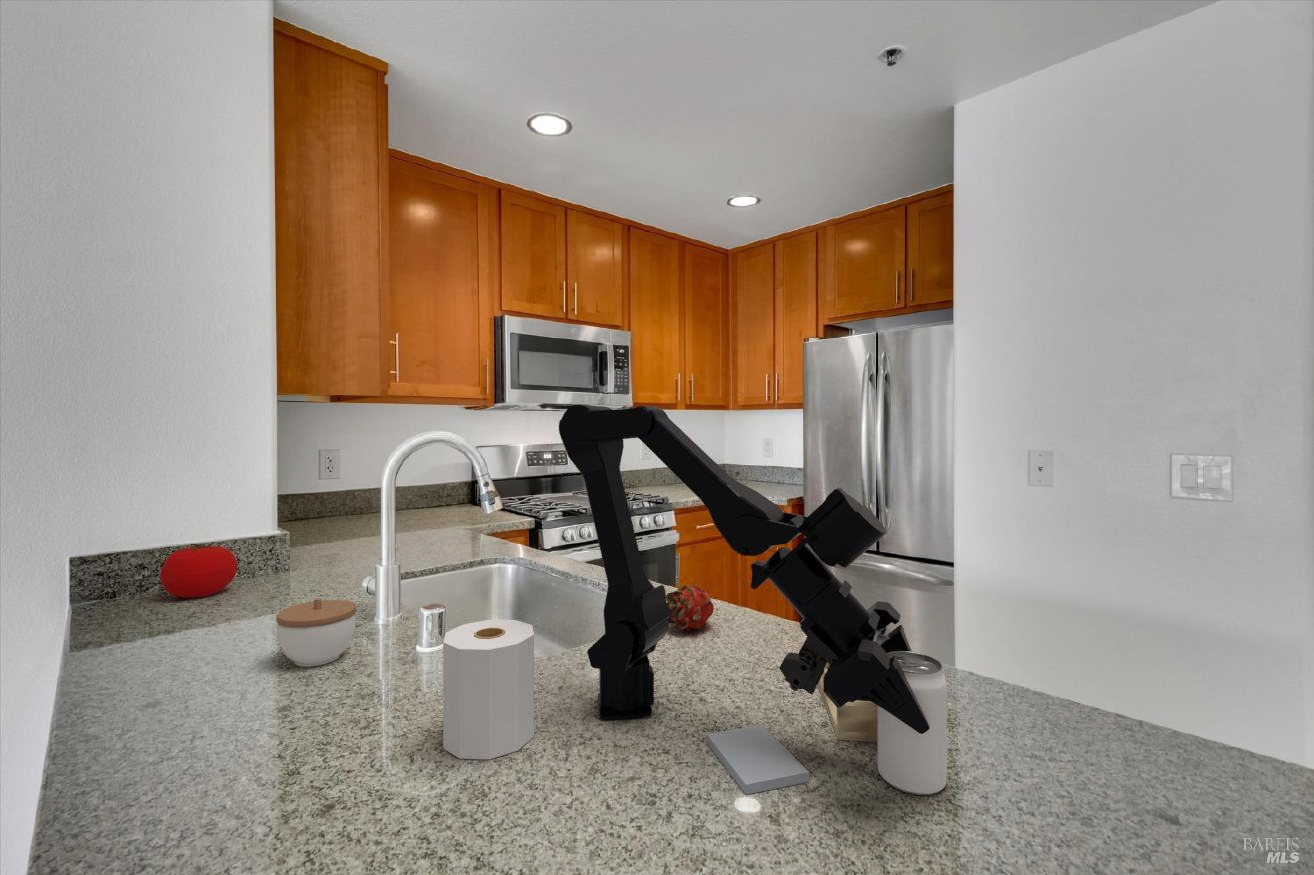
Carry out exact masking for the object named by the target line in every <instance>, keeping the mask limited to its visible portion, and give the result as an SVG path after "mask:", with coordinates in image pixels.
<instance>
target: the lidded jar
mask: <svg viewBox="0 0 1314 875" xmlns="http://www.w3.org/2000/svg"><path fill="white" fill-rule="evenodd" d="M356 613H357V604H356V603H355V602H354V601H350V600H345V599H344V600H343V599H327V600H326V599H325V600H324V599H322V598H321V597H318V598H313V601H309V602H308V601H307V602H305V603H300V604H296V605H293V606H289V607H287V608H285V609H282V610H280V611H279V612H278V613H277V614H276V623H277V638H278V642H279V646H280V649H281V651H282V653H283V654H284V656H286V658H288V659H289V660H291V661H292V662H294V664H295V665H296V666H298V667H303V668H304V667H305V668H311V667H312V668H313V667H319V666H322V665H323V666H324V665H327V664H330V663H333V662H335V661H337V660H338V659H339V658H340V657H341V654H342V653H343V652H345V650H346V649H347V648H348V646H349V645H350V643H351V641H352V639H353V637H354V633H355V630H356V629H355V628H356V616H357V615H356Z"/></svg>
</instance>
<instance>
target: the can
mask: <svg viewBox="0 0 1314 875" xmlns="http://www.w3.org/2000/svg"><path fill="white" fill-rule="evenodd" d="M886 654H887V656H888V657H889V659H890V658H892V657H893V656H895V657H896V658H897V660H898V662H899V664H900V666H901V668H902V670H903V672H904V674H905V677H906V679H907V681H908V683H909V685H910V687H911V689H912V691H913V693H914V695H915V697H916V699H917V701H918V703H919V705H920V707H921V709H922V711H923V713H924V715H925V717H926V720H927V722H928V724H929V726H930V728H929V730H928V731H926V732H925V733H924V734H920V733H918V732H917V731H915V730H914V729H912V728H911V727H909V726H908V725H907V724H905V723H904V722H902V721H901V720H899V719H898V718H896V717H895V716H893V715H892V714H890V713H889V712H887V711H886V710H884V709H883V708H881V707H879V706H878V742H877V771H878V773H879V774H880V776H881V777H882V778H883V780H884V781H885V783H887V784H888V785H890V786H891V787H893V788H894V789H895V790H898V791H901V792H903V793H907V794H910V793H911V794H910V795H914V794H915V795H914V796H916V795H917V796H933V795H935V794H938V793H939V792H941V791H942V790H943V789H944V788H945V787H946V784H947V780H948V779H947V778H948V775H947V774H948V773H947V772H948V770H947V769H948V762H947V761H948V751H947V750H948V685H947V684H948V683H947V679H946V676H945V674H944V672H943V670H942V669H943V664H942V663H941V661H939V660H938V659H936V658H934V657H932V656H930V655H927V654H925V653H924V654H923V653H919V652H915V651H912V652H909V651H893V652H889V653H886Z"/></svg>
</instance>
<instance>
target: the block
mask: <svg viewBox="0 0 1314 875" xmlns="http://www.w3.org/2000/svg"><path fill="white" fill-rule="evenodd" d="M706 744H707V745H708V746H709V748H710V750H712V752H713V753H714V754H715V756H716V757H717V759H719V761H720V762H721V764H722V765H723V767H725V769H726V770H727V771H728V773H729V775H731V777H732V778H733V780H734V782H736V783H737V785H738V787H739V788H740V789H741V791H742V792H743V793H744V794H745V795H746V796H747V795H751V794H756V793H761V792H766V791H770V790H775V789H776V790H777V789H781V788H786V787H791V786H796V785H800V784H806V783H809V782H810V777H809V775H810V774H809V771H808V769H806V768H805V767H804V766H803V765H802V764H801V762H799V761H798V759H797V758H795V757H794V755H793V754H792V753H791V752H789V750H787V749H786V747H785V746H784V745H782V743H781V742H780V741H778V739H777V738H776V737H775V736H773V734H772V733H771V732H770V731H769V730H767V728H766V727H765V726H764V725H763V724H758V725H753V726H745V727H739V728H734V729H729V730H722V731H715V732H711V733H706Z"/></svg>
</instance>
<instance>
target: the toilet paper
mask: <svg viewBox="0 0 1314 875" xmlns="http://www.w3.org/2000/svg"><path fill="white" fill-rule="evenodd" d="M534 632H535V631H534V627H533V624H529V623H527V622H523V621H520V620H518V619H517V620H516V619H486V620H480V621H475V622H468V623H463V624H461V625H460V626H457V627H455V628H452V629H450V630H448V631H446V632H445V634H444V638H443V641H442V643H443V645H442V652H443V653H442V661H443V662H442V664H443V665H442V667H443V668H442V670H443V671H442V672H443V673H442V674H443V675H442V676H443V677H442V682H443V683H442V684H443V685H442V688H443V691H442V692H443V693H442V695H443V696H442V699H443V700H442V701H443V702H442V704H443V706H442V707H443V709H442V710H443V713H442V716H443V719H442V720H443V722H442V725H443V727H442V728H443V729H442V734H443V736H442V737H443V738H442V739H443V740H442V741H443V744H442V746H443V749H444V750H445V751H447V753H449V754H452V755H453V756H455V757H456V758H458V759H459V760H460V759H461V760H492V759H496V758H499V757H502V756H505V755H508V754H509V755H510V754H511V753H515V752H519V751H520V749H522V748H523V747H524V746H525V745H526V744H527V743H528V742H530V741H531V740H532V739H533V738H534V737H535V633H534Z"/></svg>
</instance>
